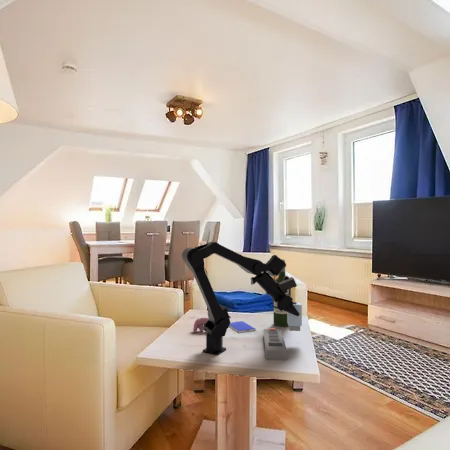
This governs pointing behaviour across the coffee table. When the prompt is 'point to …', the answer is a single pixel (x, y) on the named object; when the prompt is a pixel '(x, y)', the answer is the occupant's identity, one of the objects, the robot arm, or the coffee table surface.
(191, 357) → the coffee table surface
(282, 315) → the wine bottle
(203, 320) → the video game controller
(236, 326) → the hard drive
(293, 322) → the light blue rectangular block
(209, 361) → the coffee table surface
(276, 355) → the power strip
